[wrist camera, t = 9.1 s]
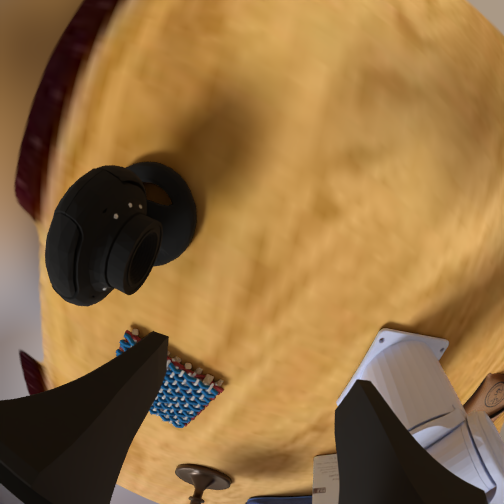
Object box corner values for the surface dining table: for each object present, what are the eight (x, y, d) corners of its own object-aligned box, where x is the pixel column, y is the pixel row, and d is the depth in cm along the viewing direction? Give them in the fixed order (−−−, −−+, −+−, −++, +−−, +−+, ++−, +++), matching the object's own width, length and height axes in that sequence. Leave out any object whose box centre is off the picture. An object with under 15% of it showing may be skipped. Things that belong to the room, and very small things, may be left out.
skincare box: (359, 449, 26) (367, 528, 14) (356, 462, 27) (362, 534, 16) (311, 455, 27) (309, 536, 15) (312, 468, 28) (310, 540, 17)
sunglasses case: (489, 371, 20) (520, 401, 14) (497, 358, 23) (524, 383, 18) (404, 456, 26) (427, 483, 21) (425, 438, 30) (446, 462, 24)
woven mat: (188, 421, 27) (183, 434, 25) (110, 374, 26) (102, 385, 25) (230, 379, 24) (226, 394, 22) (133, 319, 23) (122, 331, 21)
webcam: (181, 279, 20) (112, 365, 11) (103, 241, 20) (13, 294, 11) (214, 180, 18) (136, 206, 8) (123, 148, 17) (15, 155, 8)
